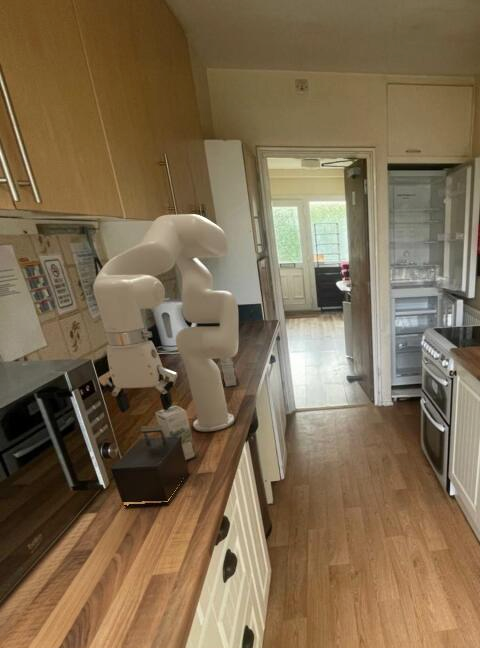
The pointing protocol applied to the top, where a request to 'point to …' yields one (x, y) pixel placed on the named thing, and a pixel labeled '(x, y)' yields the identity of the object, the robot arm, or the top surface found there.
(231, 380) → the candy bar box
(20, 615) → the top surface
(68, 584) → the top surface
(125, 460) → the bin lid
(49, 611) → the top surface
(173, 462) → the bin
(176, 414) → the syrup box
